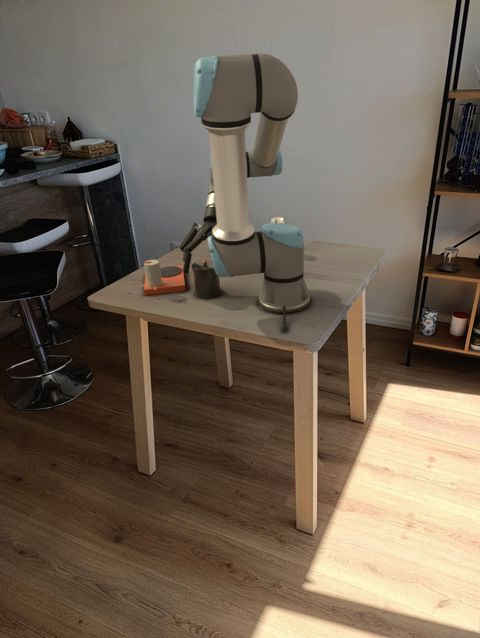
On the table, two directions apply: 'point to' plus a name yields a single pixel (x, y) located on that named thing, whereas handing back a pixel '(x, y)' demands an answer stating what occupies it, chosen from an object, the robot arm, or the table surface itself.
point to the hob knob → (153, 273)
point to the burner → (170, 271)
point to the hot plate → (167, 284)
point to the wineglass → (277, 220)
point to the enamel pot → (205, 279)
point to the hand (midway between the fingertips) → (206, 272)
